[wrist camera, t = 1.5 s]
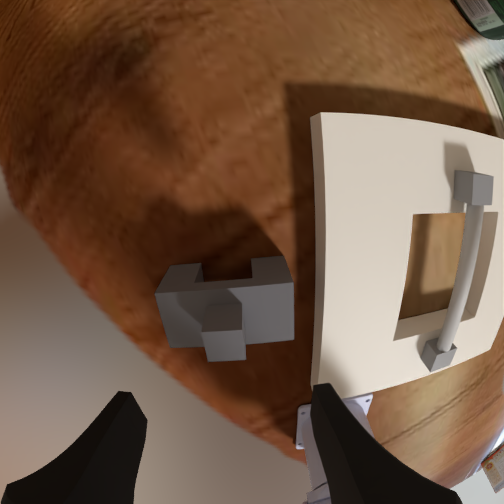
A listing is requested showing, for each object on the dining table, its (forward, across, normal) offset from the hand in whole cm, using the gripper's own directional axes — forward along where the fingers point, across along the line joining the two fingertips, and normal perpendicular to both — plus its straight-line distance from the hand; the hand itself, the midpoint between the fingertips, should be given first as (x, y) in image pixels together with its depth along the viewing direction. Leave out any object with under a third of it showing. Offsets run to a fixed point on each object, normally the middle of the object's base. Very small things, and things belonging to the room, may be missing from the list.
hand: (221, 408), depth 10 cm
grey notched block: (+11, 0, 0) cm, 11 cm away
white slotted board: (+10, -17, 0) cm, 20 cm away
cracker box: (+8, -100, +103) cm, 144 cm away
